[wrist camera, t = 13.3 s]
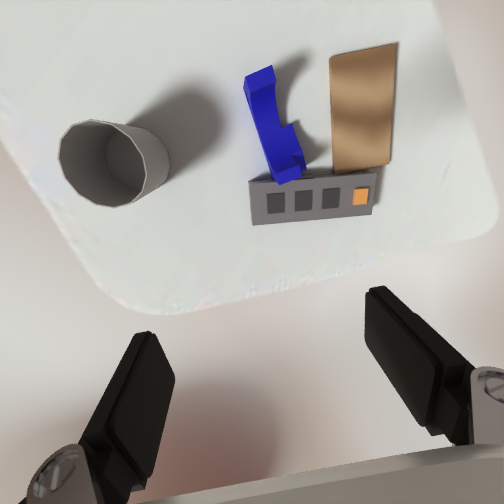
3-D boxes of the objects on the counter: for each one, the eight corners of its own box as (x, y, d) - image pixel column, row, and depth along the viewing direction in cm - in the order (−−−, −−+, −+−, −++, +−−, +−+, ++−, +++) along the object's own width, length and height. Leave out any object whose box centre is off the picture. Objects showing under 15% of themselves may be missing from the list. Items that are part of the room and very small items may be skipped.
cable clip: (301, 167, 35) (313, 171, 30) (272, 178, 36) (279, 185, 30) (276, 73, 30) (285, 58, 25) (243, 88, 31) (245, 76, 25)
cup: (107, 184, 34) (62, 199, 25) (105, 120, 31) (51, 110, 22) (168, 195, 35) (146, 213, 26) (172, 134, 32) (148, 131, 23)
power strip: (251, 219, 38) (252, 226, 35) (248, 178, 35) (249, 182, 32) (361, 209, 39) (373, 215, 35) (366, 168, 36) (379, 171, 33)
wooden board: (328, 58, 30) (331, 56, 29) (392, 45, 30) (396, 43, 29) (333, 174, 36) (335, 174, 35) (386, 163, 36) (389, 163, 35)
